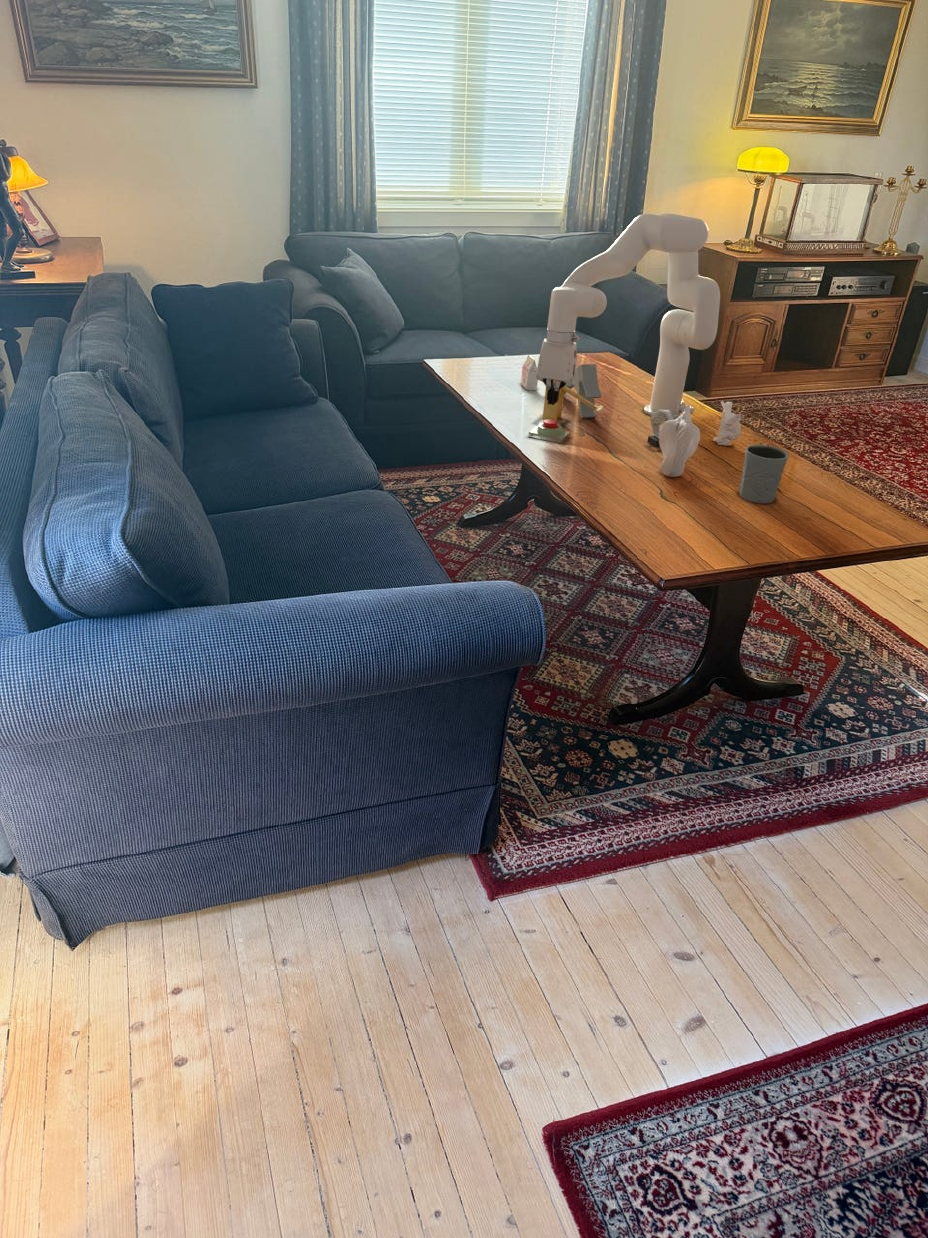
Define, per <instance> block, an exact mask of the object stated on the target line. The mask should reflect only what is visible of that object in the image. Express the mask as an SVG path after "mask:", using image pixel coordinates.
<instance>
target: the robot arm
mask: <svg viewBox="0 0 928 1238" xmlns="http://www.w3.org/2000/svg"><path fill="white" fill-rule="evenodd" d="M708 238H709V227H708V224H707V223H706V222H705V220H703V219H702V218H697V217H691V216H685V215H682V214H675V213H667V212H666V213H665V212H663V213H660V214H655V213H641V214H639V215H637V216H636V217H635V218H634V219H633V220H632V221H631V222H630V224H629V225H628V226H627V227H626V228H625V230H624V231H622V233H621V234H620V236H619V237H618V238H617V239H616V240H615V241H614V243H612V244H611V246H610V247H609V248H608V249H607V250H606V251H604V252H602V253H600V254H598V255H596V256H594V257H592V258H591V259H589V260H587V261H585V262H583V263H582V264H580V265H579V266H578V267H576V268H575V269H574V270H573V271H572V273H570V275H569V276H568V277H567V278H566V279H565V281H564V282H563V283H562V285H561V286H559V287H558V286H557V287H554V289H552V290H551V293H550V294H551V295H550V303H549V312H548V320H547V326H546V327H547V328H546V338H544V339H543V341H542V344H541V348H540V352H539V356H538V362H537V376H536V379H537V380H538V381H539V382H542V383H543V385H544V386H545V389H546V388H547V389H548V392H547V400H548V404H551V405H554V404H555V403H556V402H558V399H559V391H560V389H561V388H562V387H564V386H572V385H573V384H574V379H573V378H574V377H575V374H576V368H577V362H578V346H577V345H578V344H577V342H575V341H579V340H580V335H579V334H577V332H576V326H577V320H578V318H580V317H581V318H590V319H592V318H597V317H599V316H600V315H602V314H603V313H604V311H605V310H606V308H607V306H608V300H607V296H606V294H605V293H604V292H603V290H601V289H599V288H596V287H592V286H594V285H596V284H597V283H601V282H603V281H606V280H607V281H608V280H612V279H613V280H614V279H617V278H621V277H624V276H625V277H626V276H627V275H629V274H631V272H632V271H633V270H634V268H635V267H636V266H637V265H638V264H639V263H640V262H641V260H642V259H643V258H644V257H645V256H646V255H647V254H648V252H649V251H651V250H653V251H658V252H663V253H666V256H667V260H668V261H667V263H668V264H667V265H668V268H667V286H666V287H667V288H666V289H667V292H666V293H667V296H666V297H667V302H668V303H669V304H671V305H672V306H674V307H676V308H677V309H671V310H669V311H668V312H666V313H665V314H664V315H663V317H662V319H661V322H660V328H659V336H660V337H659V338H660V340H659V351H658V357H657V363H656V368H655V373H654V378H653V379H654V380H653V385H652V391H651V396H650V401H649V404H646V405H645V406H644V409H643V411H644V413H645V414H646V415H648V416H650V417H651V416H652V414H653V413H655V412H656V411H658V410H661V409H664V410H669V411H671V412H672V413H673V415H674V420H675V419H677V418H678V417H679V416H680V415H681V414H682V411H683V416H684V409H685V410H686V405H687V406H690V414H692V415H693V414H694V412H695V407H693V406H692V405H689V404H685V403H684V401H685V400H684V399H683V395H684V391H685V390H684V389H685V385H686V380H687V375H688V370H689V366H690V350H689V348H690V349H695V350H698V351H699V350H700V351H703V350H706V349H709V348H710V347H711V346H712V345H713V344H714V342H715V340H716V337H717V333H718V327H719V317H720V316H719V315H720V305H721V290H720V287H719V285H718V283H717V281H716V280H714V279H712V278H709V277H705V276H702V275H700V273H699V251H700V250H702V248H703V247H704V246H705V245H706V244H707V241H708ZM678 308H679V309H678ZM554 380H557V381H556V385H555V388H554Z"/></svg>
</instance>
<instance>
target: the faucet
mask: <svg viewBox="0 0 928 1238" xmlns="http://www.w3.org/2000/svg"><path fill="white" fill-rule="evenodd" d="M597 371H598V370H597V364H596V363H594V364H593V363H591V364H590V363H589V364H587V363H586V364H580V365H578V366H576V374H575V377H574V378H573V379H574V384H573V385H572V386H566V387H568V388H569V389H571V390H572V389H573V388H575V390H576V393H577V394H579V395H580V396H582V397H583V398H585V399H586V400H588V401H590V402H591V403H593V404H594V405H596V403H595V399H601V398H602V393H601V389H600V386H599V381H598V372H597ZM566 394H567V392H566V391H564V396H565V395H566ZM577 402H578V404H577V405H578V417H579V418H580V419H582V420H583V419H596V418H597V417H598V416H597V415H598V414H597V415H595V414H594V409H592V408H591V407H589V406H588V405H586V404H584V403H583V402H581V401H580V400H578V399H577Z"/></svg>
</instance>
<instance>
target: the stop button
mask: <svg viewBox="0 0 928 1238" xmlns="http://www.w3.org/2000/svg"><path fill="white" fill-rule="evenodd" d="M542 423H543V427H545V428H549V429H555V428H557V424H559V423H558V420H557V421H556V420H552V419H543V422H542Z"/></svg>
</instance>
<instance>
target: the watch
mask: <svg viewBox="0 0 928 1238" xmlns="http://www.w3.org/2000/svg"><path fill="white" fill-rule="evenodd" d="M649 420H650V427H651V430H652V433H653V435H648V436H647V441H646V442H647V443H648V444H650V445H651V446H653V447H655V448H660V445H659V431H660V426H661V425H662V424H663V423H664V422H666V420H667V421H670V420H675V419H674V415H673V413H672V412H671V411H669V410H664V409H661V410H658V411H656V412H655V413H653V414H652V416H650V417H649Z"/></svg>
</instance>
